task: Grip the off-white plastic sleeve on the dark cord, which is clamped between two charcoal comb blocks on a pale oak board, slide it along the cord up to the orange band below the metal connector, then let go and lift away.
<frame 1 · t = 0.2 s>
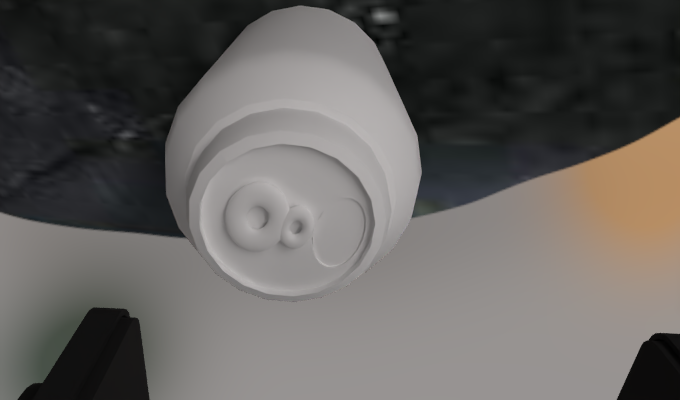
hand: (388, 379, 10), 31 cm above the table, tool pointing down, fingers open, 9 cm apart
can: (305, 91, 39), on the table
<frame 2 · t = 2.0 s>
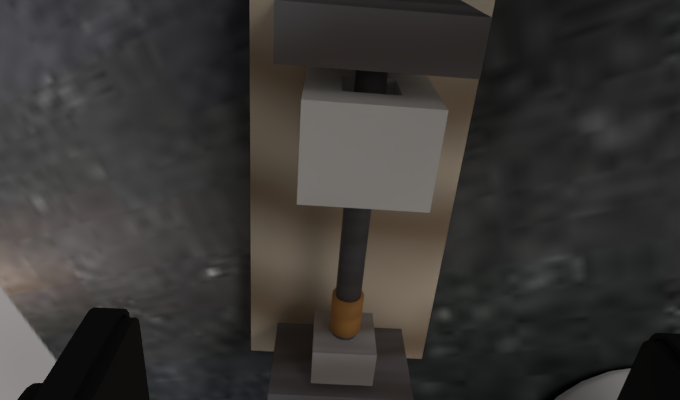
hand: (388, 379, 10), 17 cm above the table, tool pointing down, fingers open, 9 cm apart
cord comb: (351, 190, 27), on the table
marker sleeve: (365, 134, 20), point 5 cm above the table, slide at 0.0 cm
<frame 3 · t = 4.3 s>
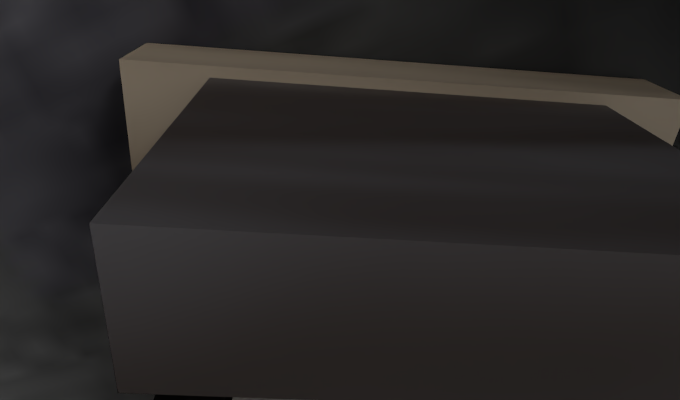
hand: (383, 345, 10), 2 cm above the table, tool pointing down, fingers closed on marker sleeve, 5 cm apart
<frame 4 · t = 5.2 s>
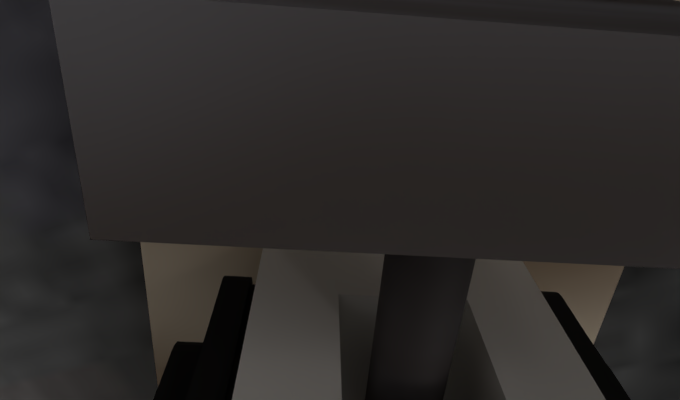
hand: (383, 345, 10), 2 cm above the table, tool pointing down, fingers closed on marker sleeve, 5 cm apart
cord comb: (363, 364, 14), on the table
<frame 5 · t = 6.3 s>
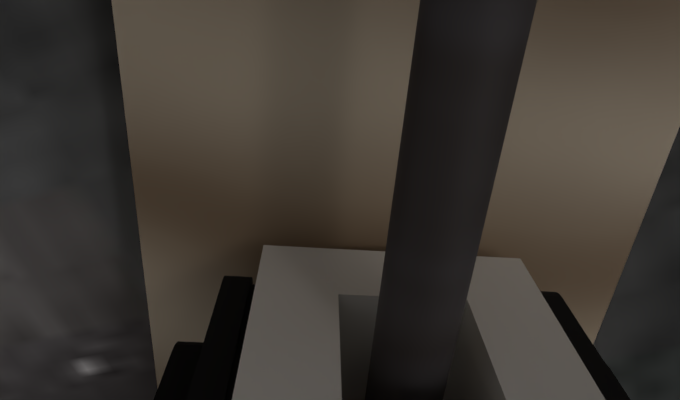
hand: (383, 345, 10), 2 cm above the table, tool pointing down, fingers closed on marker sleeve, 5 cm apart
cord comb: (384, 193, 12), on the table
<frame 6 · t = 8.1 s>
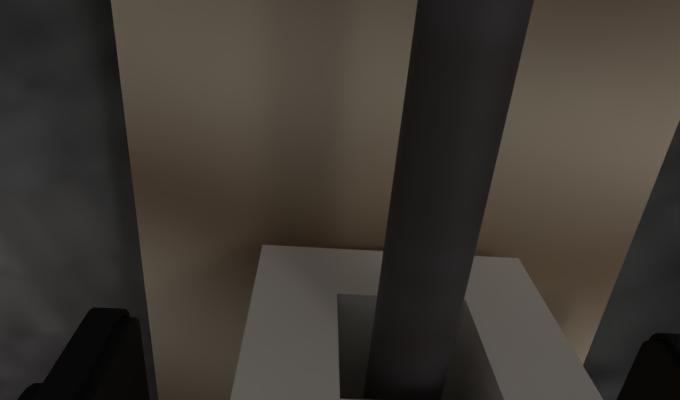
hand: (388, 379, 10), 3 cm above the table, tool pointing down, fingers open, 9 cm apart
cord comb: (384, 188, 12), on the table
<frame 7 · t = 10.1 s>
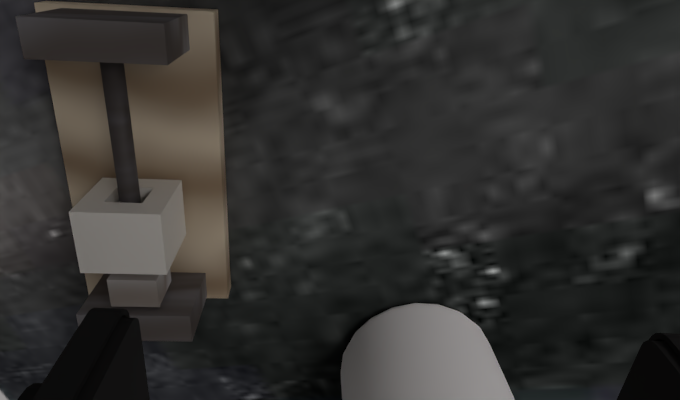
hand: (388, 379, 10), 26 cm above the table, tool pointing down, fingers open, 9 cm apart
can: (413, 357, 43), on the table
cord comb: (150, 162, 35), on the table
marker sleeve: (133, 224, 32), point 5 cm above the table, slide at 7.2 cm
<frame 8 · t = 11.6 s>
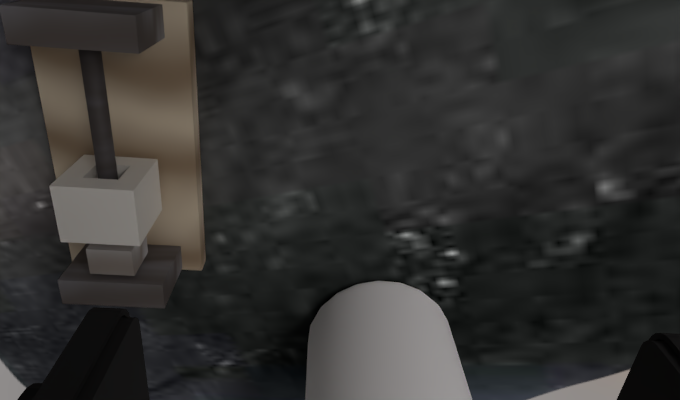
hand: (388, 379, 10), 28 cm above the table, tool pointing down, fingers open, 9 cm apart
can: (377, 331, 46), on the table
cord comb: (130, 141, 37), on the table
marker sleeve: (111, 198, 34), point 4 cm above the table, slide at 7.2 cm
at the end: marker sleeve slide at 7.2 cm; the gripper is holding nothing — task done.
